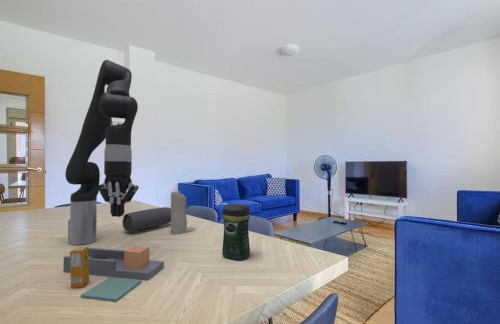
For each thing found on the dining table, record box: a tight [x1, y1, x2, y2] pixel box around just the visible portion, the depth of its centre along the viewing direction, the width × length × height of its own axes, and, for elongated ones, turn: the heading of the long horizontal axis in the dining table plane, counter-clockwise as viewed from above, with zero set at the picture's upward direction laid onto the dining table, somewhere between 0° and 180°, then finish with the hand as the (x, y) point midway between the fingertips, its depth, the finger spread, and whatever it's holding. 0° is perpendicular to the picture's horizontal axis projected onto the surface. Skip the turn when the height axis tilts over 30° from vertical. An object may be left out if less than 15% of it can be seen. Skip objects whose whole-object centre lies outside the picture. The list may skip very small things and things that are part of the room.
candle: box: [170, 190, 197, 235], centre depth 126 cm, size 7×14×20 cm, turn 148°
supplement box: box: [69, 246, 90, 289], centre depth 70 cm, size 3×3×10 cm
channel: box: [63, 247, 165, 281], centre depth 80 cm, size 28×9×4 cm, turn 80°
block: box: [124, 245, 150, 270], centre depth 78 cm, size 5×5×5 cm
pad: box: [80, 277, 142, 303], centre depth 68 cm, size 10×10×1 cm
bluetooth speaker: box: [122, 206, 171, 233], centre depth 128 cm, size 23×9×10 cm, turn 144°
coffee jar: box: [221, 203, 251, 261], centre depth 92 cm, size 10×8×19 cm
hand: (117, 216), depth 79 cm, fingers closed
